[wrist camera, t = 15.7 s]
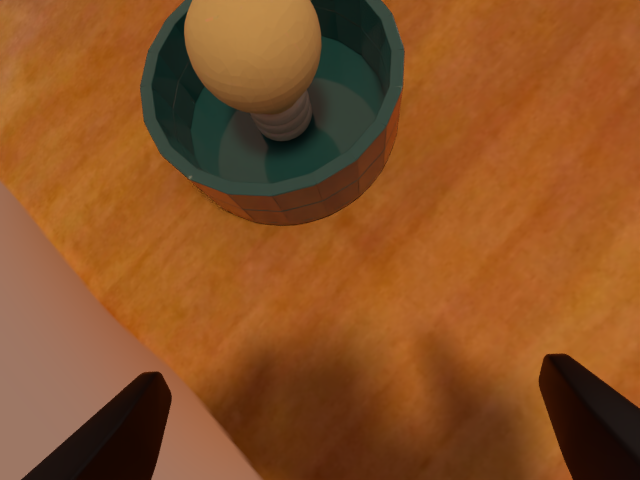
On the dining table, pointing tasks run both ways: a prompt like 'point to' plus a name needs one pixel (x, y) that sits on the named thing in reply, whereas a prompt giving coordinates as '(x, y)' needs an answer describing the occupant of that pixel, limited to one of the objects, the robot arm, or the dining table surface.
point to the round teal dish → (296, 154)
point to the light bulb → (257, 58)
